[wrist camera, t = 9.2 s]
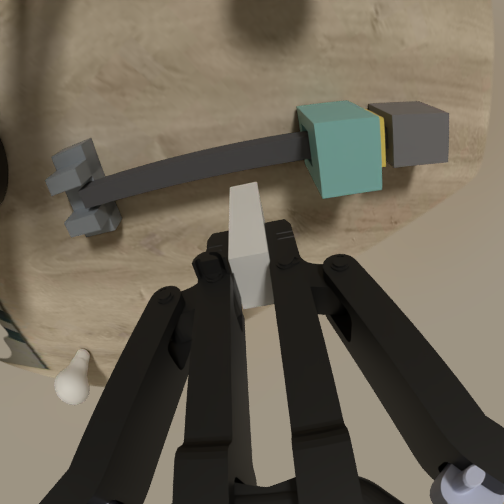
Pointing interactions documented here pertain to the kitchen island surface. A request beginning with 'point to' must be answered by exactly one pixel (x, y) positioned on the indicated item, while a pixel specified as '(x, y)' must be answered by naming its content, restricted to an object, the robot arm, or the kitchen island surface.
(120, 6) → the kitchen island surface
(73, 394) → the lightbulb
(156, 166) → the dark grey long bar
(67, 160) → the grey stepped brick
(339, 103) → the sleeve
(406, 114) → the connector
